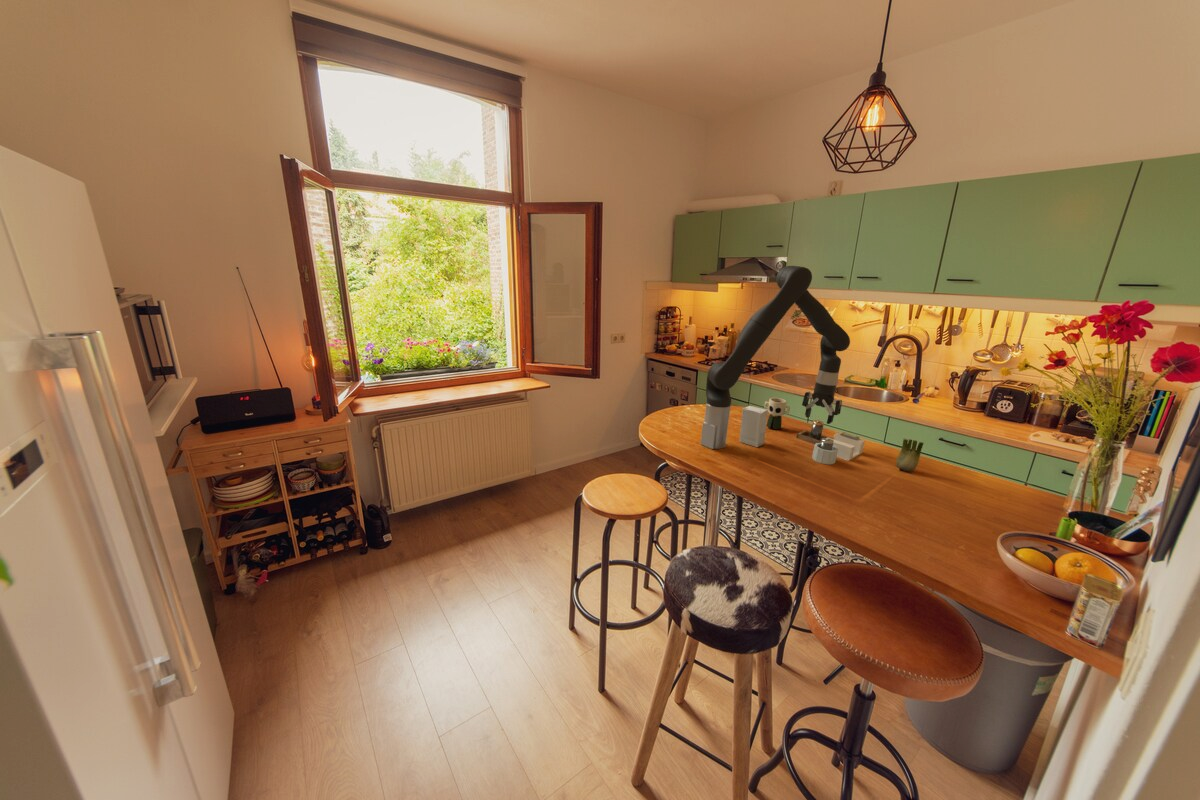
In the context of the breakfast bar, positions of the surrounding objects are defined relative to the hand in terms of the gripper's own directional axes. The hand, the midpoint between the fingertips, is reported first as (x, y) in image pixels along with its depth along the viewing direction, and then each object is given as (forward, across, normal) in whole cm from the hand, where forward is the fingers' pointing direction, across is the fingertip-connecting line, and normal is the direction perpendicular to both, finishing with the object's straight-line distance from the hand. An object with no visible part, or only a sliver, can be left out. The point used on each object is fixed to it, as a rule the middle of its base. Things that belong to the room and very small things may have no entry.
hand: (818, 420), depth 175 cm
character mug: (+10, -19, +1) cm, 21 cm away
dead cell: (+9, +11, -16) cm, 21 cm away
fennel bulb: (+10, +32, +2) cm, 34 cm away
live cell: (+9, 0, 0) cm, 9 cm away
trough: (+10, 0, 0) cm, 10 cm away
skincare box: (+10, -15, -23) cm, 29 cm away
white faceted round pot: (+10, +11, -16) cm, 22 cm away
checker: (+10, +12, -3) cm, 16 cm away
